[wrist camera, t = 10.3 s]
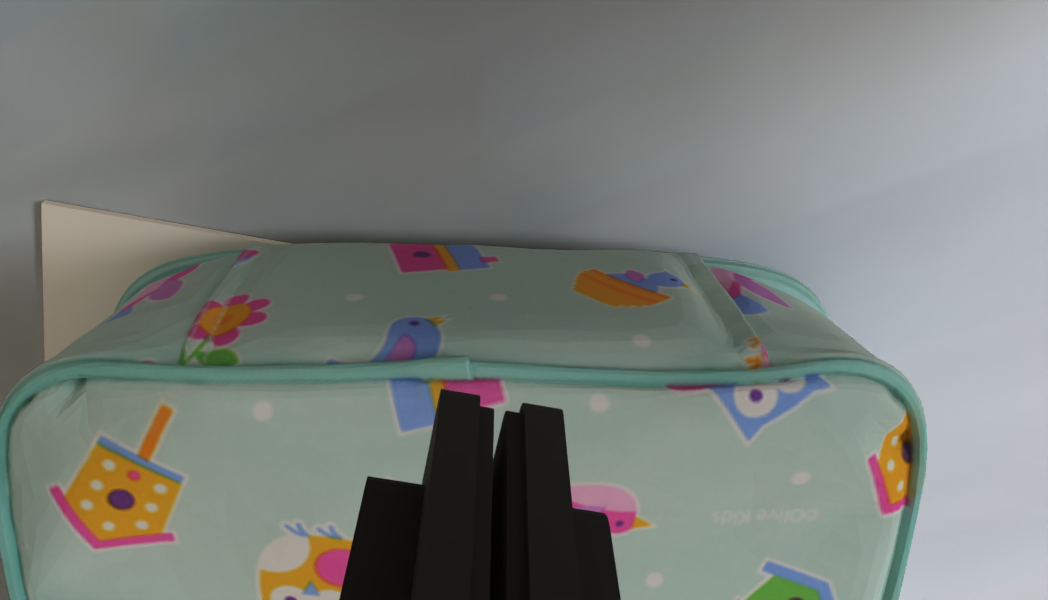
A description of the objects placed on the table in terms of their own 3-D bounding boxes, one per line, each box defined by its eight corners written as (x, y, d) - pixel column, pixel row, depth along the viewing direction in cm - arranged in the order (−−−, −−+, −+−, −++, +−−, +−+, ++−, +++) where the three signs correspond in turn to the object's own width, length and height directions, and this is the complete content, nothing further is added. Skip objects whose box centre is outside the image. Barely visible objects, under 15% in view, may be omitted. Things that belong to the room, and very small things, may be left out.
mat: (45, 200, 29) (41, 203, 29) (782, 330, 33) (785, 333, 32) (52, 602, 37) (49, 607, 36) (650, 673, 40) (651, 678, 40)
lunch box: (58, 224, 30) (153, 697, 38) (-140, 367, 20) (45, 955, 29) (842, 226, 31) (764, 683, 39) (1001, 361, 21) (854, 925, 30)
